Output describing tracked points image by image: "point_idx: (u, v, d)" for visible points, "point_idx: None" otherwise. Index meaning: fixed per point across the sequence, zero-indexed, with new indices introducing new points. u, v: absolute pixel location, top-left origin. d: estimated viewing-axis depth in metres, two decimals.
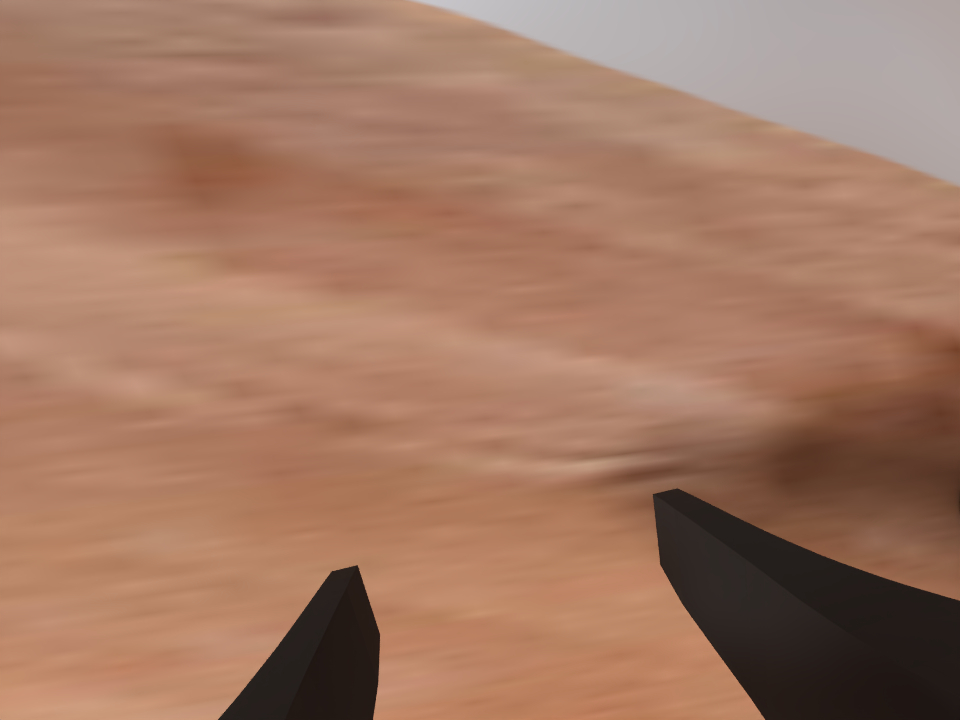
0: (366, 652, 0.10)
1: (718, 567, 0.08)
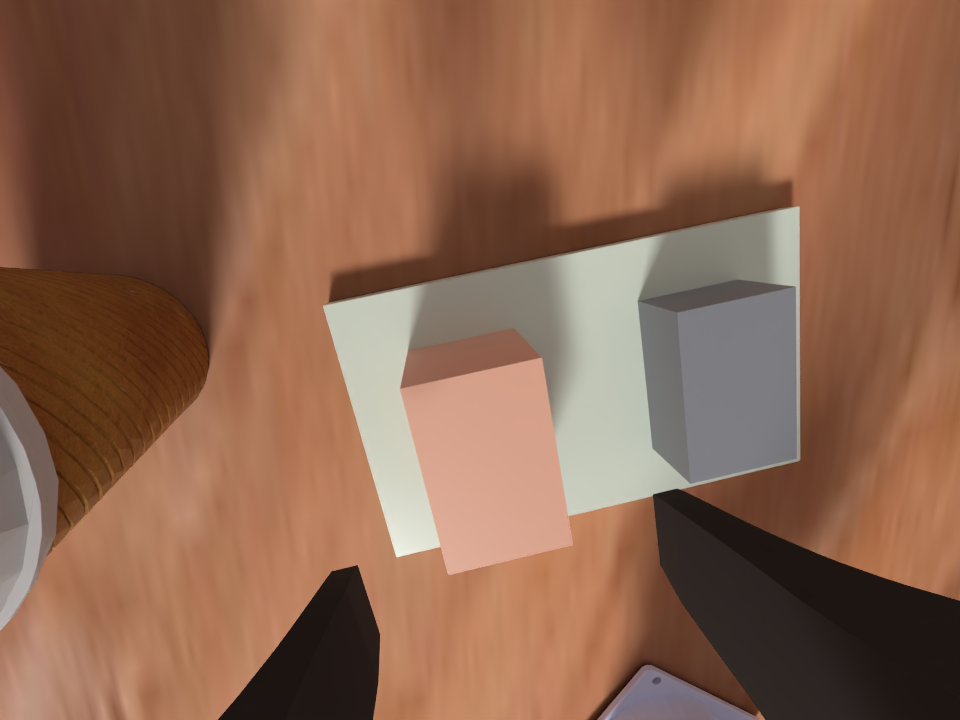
0: (366, 652, 0.10)
1: (718, 567, 0.08)
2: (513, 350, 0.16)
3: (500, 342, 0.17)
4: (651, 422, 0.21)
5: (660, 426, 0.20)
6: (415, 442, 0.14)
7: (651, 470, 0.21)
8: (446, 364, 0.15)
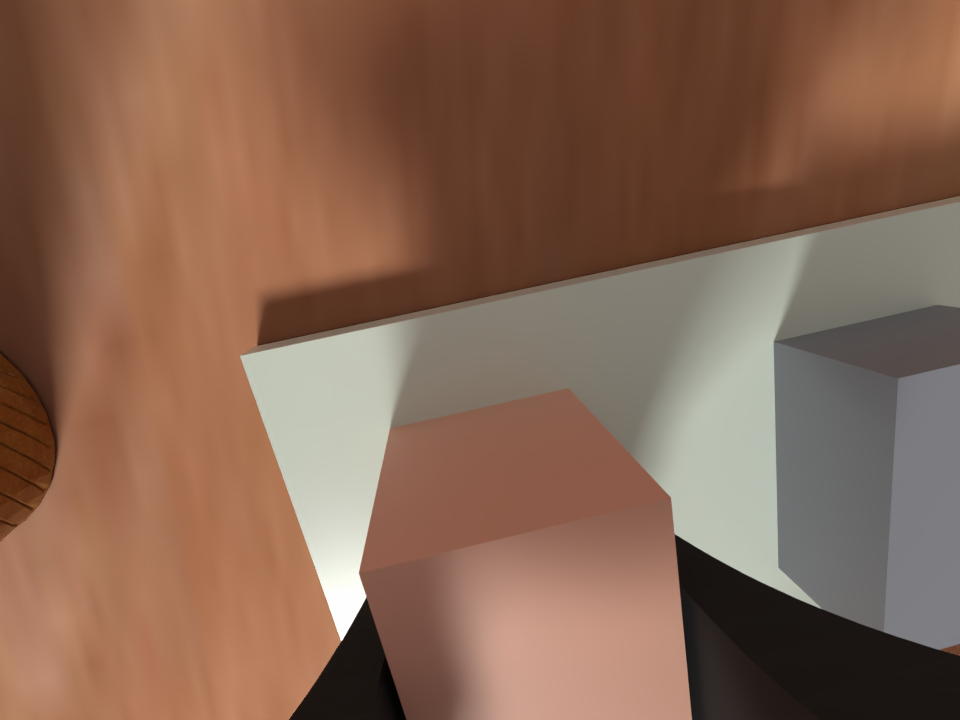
0: None
1: None
2: (591, 458, 0.08)
3: (555, 427, 0.09)
4: (779, 529, 0.13)
5: (806, 546, 0.12)
6: (395, 675, 0.07)
7: None
8: (459, 488, 0.08)
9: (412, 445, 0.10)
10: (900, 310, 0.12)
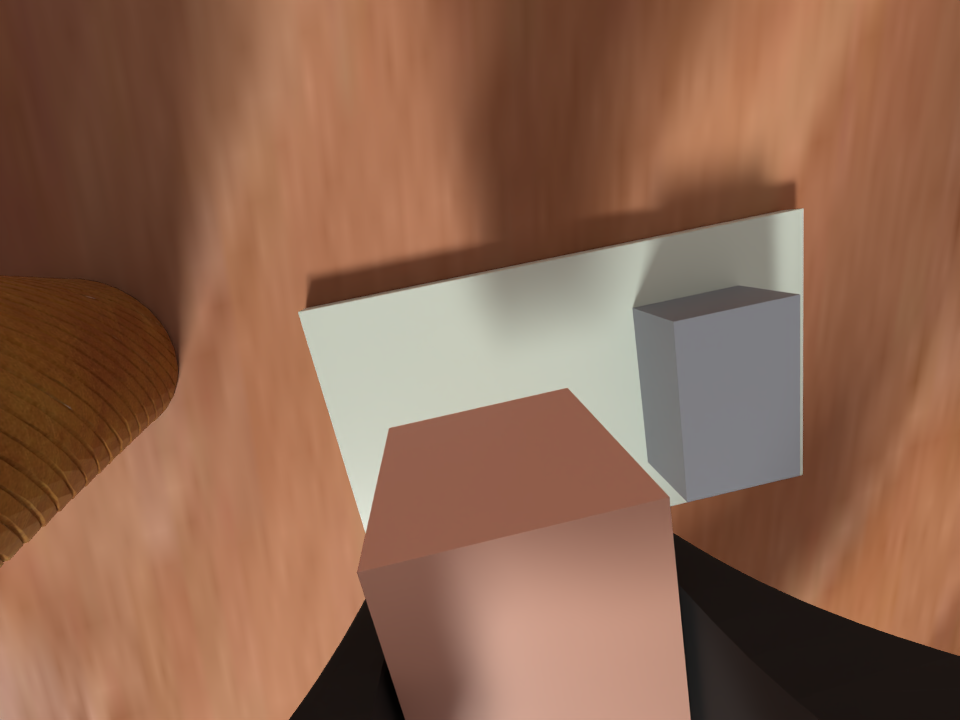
0: None
1: None
2: (590, 457, 0.08)
3: (554, 427, 0.09)
4: (646, 434, 0.20)
5: (656, 440, 0.19)
6: (393, 674, 0.07)
7: None
8: (457, 488, 0.08)
9: (411, 445, 0.10)
10: (714, 288, 0.18)
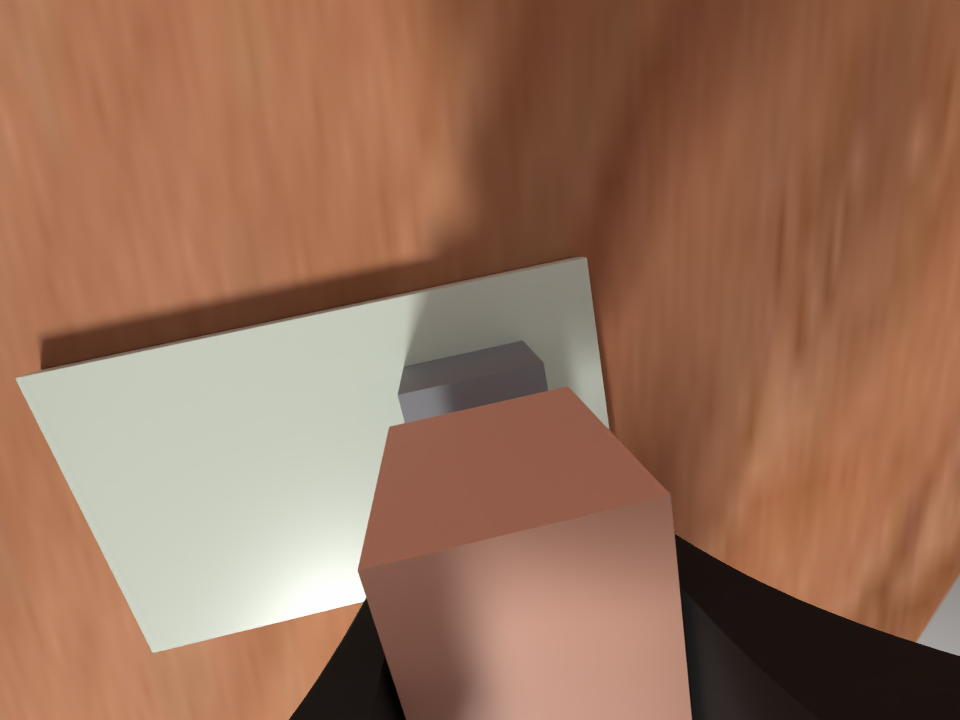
0: None
1: None
2: (590, 455, 0.08)
3: (555, 425, 0.09)
4: None
5: None
6: (394, 673, 0.07)
7: None
8: (458, 487, 0.08)
9: (411, 443, 0.10)
10: (495, 344, 0.17)
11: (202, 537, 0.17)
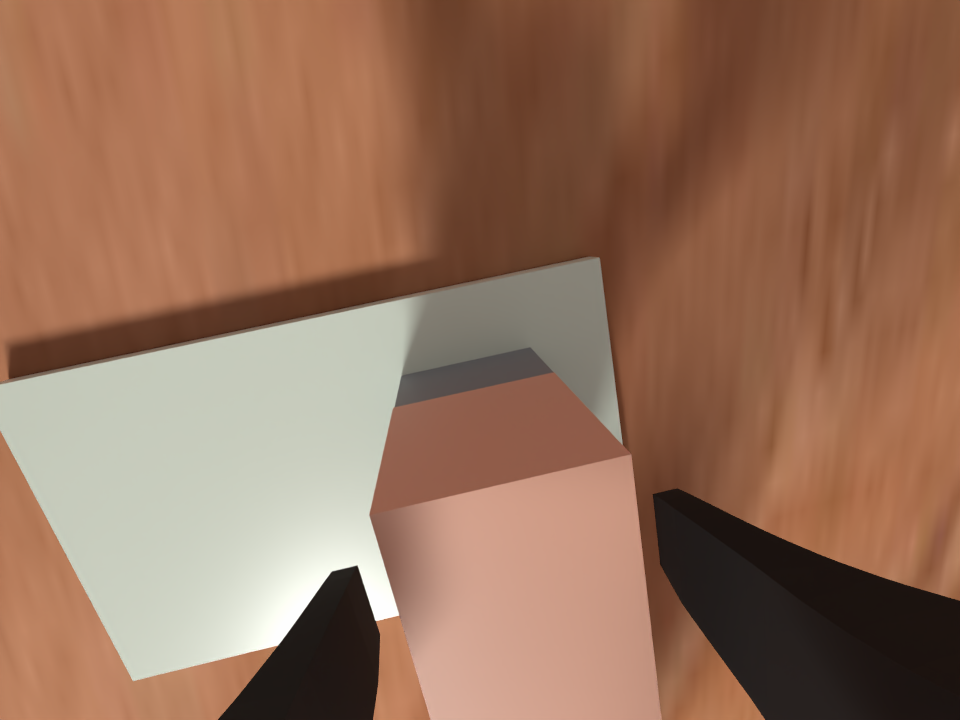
0: (366, 652, 0.10)
1: (718, 567, 0.08)
2: (568, 426, 0.09)
3: (540, 403, 0.11)
4: None
5: None
6: (399, 604, 0.08)
7: None
8: (454, 453, 0.09)
9: (413, 420, 0.11)
10: (500, 351, 0.16)
11: (185, 558, 0.16)
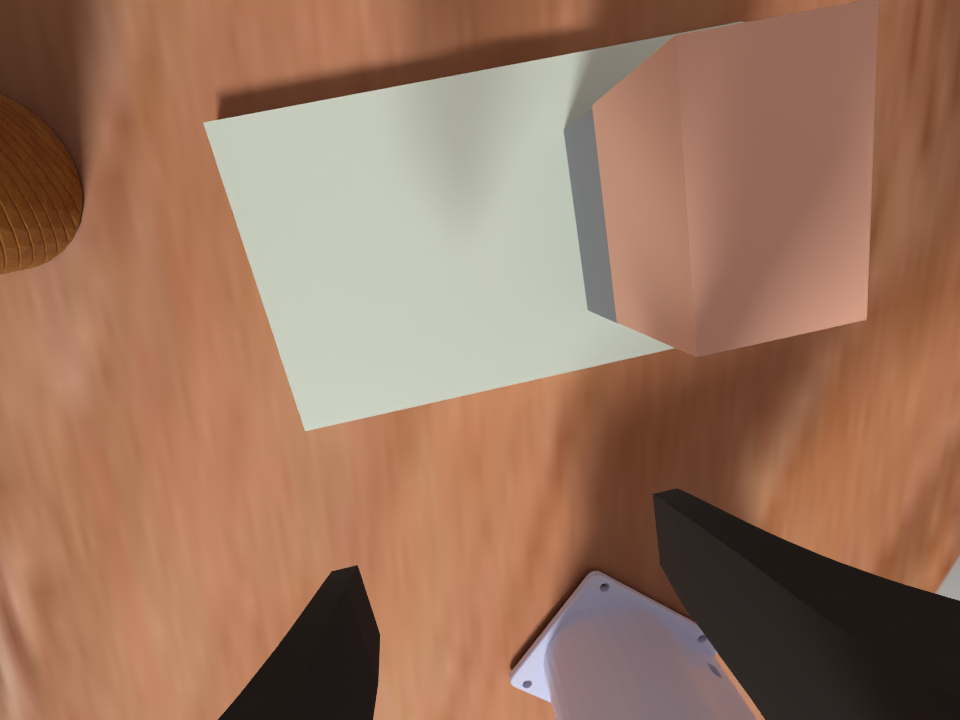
0: (366, 652, 0.10)
1: (718, 567, 0.08)
2: None
3: None
4: (585, 278, 0.19)
5: (591, 275, 0.18)
6: (685, 130, 0.10)
7: (588, 337, 0.19)
8: None
9: None
10: None
11: (361, 306, 0.18)
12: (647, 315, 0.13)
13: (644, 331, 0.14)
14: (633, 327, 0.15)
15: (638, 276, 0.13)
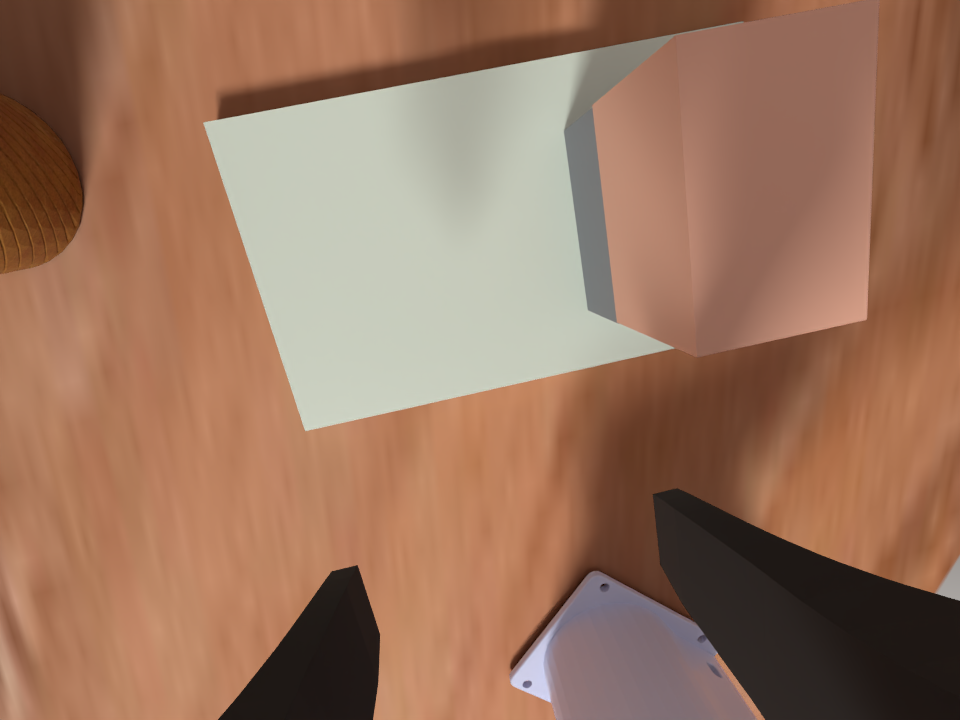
0: (366, 652, 0.10)
1: (718, 567, 0.08)
2: None
3: None
4: (585, 278, 0.19)
5: (591, 274, 0.18)
6: (685, 130, 0.10)
7: (588, 337, 0.19)
8: None
9: None
10: None
11: (361, 306, 0.18)
12: (647, 315, 0.13)
13: (644, 331, 0.14)
14: (633, 327, 0.15)
15: (638, 276, 0.13)
